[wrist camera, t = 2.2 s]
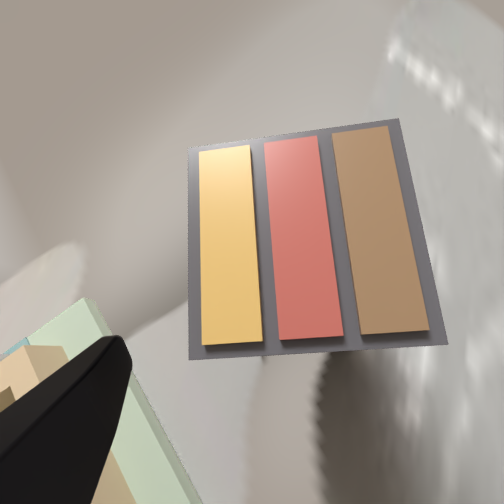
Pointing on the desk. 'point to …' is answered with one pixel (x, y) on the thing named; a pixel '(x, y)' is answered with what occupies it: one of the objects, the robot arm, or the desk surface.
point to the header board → (131, 420)
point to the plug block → (307, 246)
